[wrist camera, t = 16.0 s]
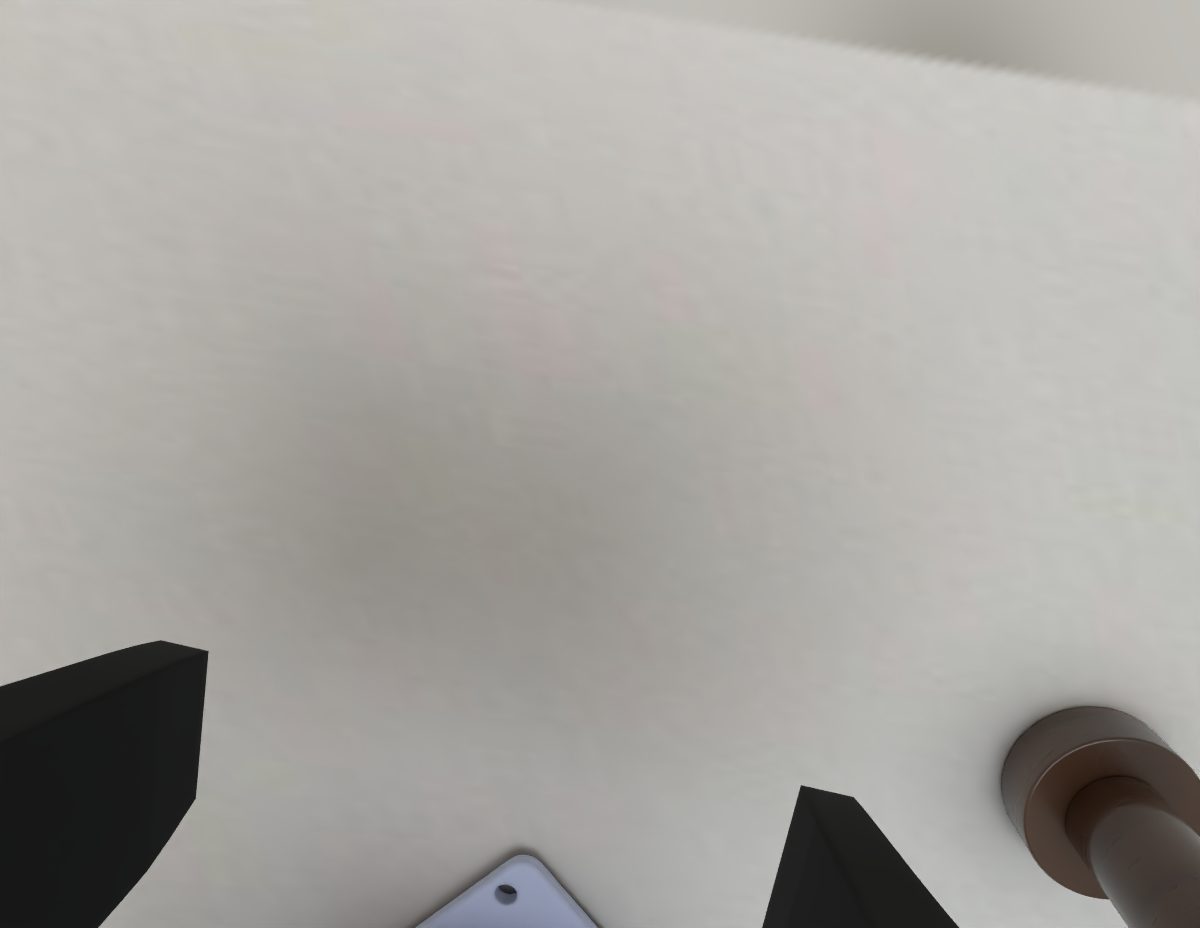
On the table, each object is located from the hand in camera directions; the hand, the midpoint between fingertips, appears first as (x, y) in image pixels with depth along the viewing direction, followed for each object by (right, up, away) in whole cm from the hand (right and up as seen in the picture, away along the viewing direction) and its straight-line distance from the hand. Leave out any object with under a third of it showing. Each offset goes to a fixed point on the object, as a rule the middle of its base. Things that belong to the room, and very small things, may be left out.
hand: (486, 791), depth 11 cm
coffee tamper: (+12, -3, +9) cm, 16 cm away
